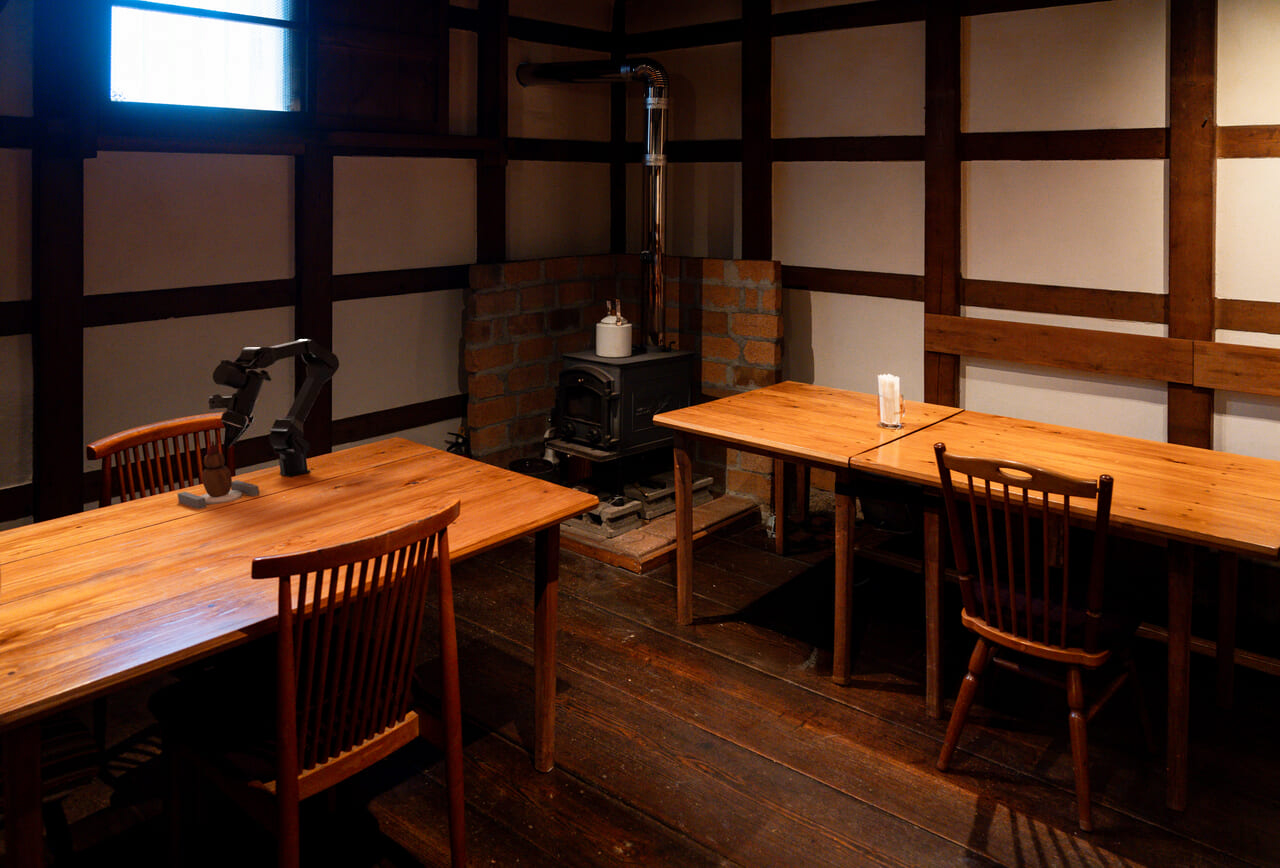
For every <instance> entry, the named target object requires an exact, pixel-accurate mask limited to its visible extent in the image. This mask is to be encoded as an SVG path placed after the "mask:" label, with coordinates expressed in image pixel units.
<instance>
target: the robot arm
mask: <svg viewBox="0 0 1280 868" xmlns="http://www.w3.org/2000/svg"><path fill="white" fill-rule="evenodd" d="M297 356H301V358H302V360H303V362H305V364H306V368H305V369H306V378H305V380H304V382H303V384H302V386H301V388H300V390H299V391H298V393H297V396H296V397H295V398H294V401H293V402H292V405H291V407H290V408H289V411H288V413H287V415H286V416H285V417H284V418H283V419H282V418H281V419H278V418H277V419H275V421H274V423H273V424H272V427H271V428H270V429H269V431H268V432H270V433H269V435H268V439H269V443H270V445H271V446H272V448H273V450H274V452H275V453H276V454H279V459H278V464H279V470H280V471H279V475H282V476H287V477H295V476H299V475H304V474H307V473H311V469H308V462H307V454H306V453H307V452H310V448H311V444H310V442H308V441H307V440H306V439H305V438H304V434H305V433H304V423H305V420H306V419H307V417H308V415H309V413H310V412H311V409H312V407H313V405H314V403H315V401H316V399H317V398H318V395H319V393H320V391H321V389H322V387H323V385H324V384H325V383H326V382H328V380H330V379H331V378H333V377H334V375H335V374H336V372H337V371H338V369H339V367H340V361H339V358H338V356H337V355H336V354H335V353H333V352H331V350H329V349H327V348H326V347H323V345H321V344H318V343H317V342H316V341H315V340H314V339H312V338H304V339H303V338H300V339H298V340H295V341H290V342H285V343H282V344H275V345H273V346H260V347H259V346H258V347H255V346H253V347H252V346H251V347H249V346H247V347H244V348H242V349H241V352H240V354H239V355H238V356H237V358H236V359H234V361H231V360H229V359H221V360H220V364H218V365H217V366H216V367H215V369H214V371H213V372H212V380H213V382H214V383H215V384H216V385H218V386H222V387H227V388H231V389H234V390H235V392H233V393H232V395H231V396H223V395H222V394H221V393H214V394H213V395H212V396H209V397H208V407H209V410H215V409H226V411H224V412H222V414H221V417H220V420H221V424H222V425H223V427H224V438H223V439H224V440H223V448H224V449H229V448H230V447H231V446H234V444H236V443H237V442H238V440H240V438H242V436H243V434H244V433H246V432H247V430H248V429H249V428H250V427H251V426H252V424H253V423H254V421H255V419H256V415H255V414H254V409H255V407H256V404H257V403H258V401H259V395H260V392H261V389H262V387H263V384H264V381H268V382H271V381H272V378H271V376H270V375H269V371H267V370H264V369H266V368H268V367H270V366H273V365H275V363H276V362H277V361H280V360H284V359H289V358H293V357H297ZM258 369H261V370H260V371H258Z"/></svg>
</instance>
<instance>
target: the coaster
mask: <svg viewBox="0 0 1280 868" xmlns="http://www.w3.org/2000/svg"><path fill="white" fill-rule="evenodd" d="M199 496H200V497H203V498H205V501H206V505H215V504H216V505H217V504H223V503H228V502H233V501H235V500H238V499H240V498H241V497H242V496H243V494H242V492H241V491H238V490H231V489H230V492H229V493H228V494H226V495H224V496H219V497H212V496H209V495H208V493H207V492H206V493H204V494H201V495H199Z"/></svg>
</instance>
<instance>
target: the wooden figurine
mask: <svg viewBox="0 0 1280 868" xmlns="http://www.w3.org/2000/svg"><path fill="white" fill-rule="evenodd" d="M214 442H215V443H214ZM206 452H207V453H206V455H205V456H204V457H203V458H204V459H203V464H204V466H205V467H206V469H204V470H203V471H202V475H201V477H202V478H201V479H202V484H203V486H204V489H205V492H206V494H207V493H208V495H209V496H212V497H219V496H224V495H226V494H228V493H229V492H230V490H231V485H232V481H233V480H232V479H233V478H232V473H231V471H230V470H229V468H228V467H227V466H225V461H226V460H225V456H224V454H223V453H221V452H220V446H219V441H218V437H215V440H211V444H210V445H209V447H208V449H207V451H206Z"/></svg>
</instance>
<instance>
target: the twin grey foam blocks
mask: <svg viewBox="0 0 1280 868" xmlns="http://www.w3.org/2000/svg"><path fill="white" fill-rule="evenodd" d="M230 490H238V491H241V492H242V495H246V496H250V497H255V496H259V495H260V489H259V485H256V484H253V483H250V482H247V481H246V482H245V481H242V480H239V479H238V480H232V485H231V489H230ZM176 494H177V499H178V500H177V501H178V503H180V504H182V505H186V506H188V507H190V508H194V509H196V510H201V509H204V508H207V504H206V501H205V498H203V497H200V496H201V495H197V494H194V493H191V492H187V491H183V492H179V493H176Z"/></svg>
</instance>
